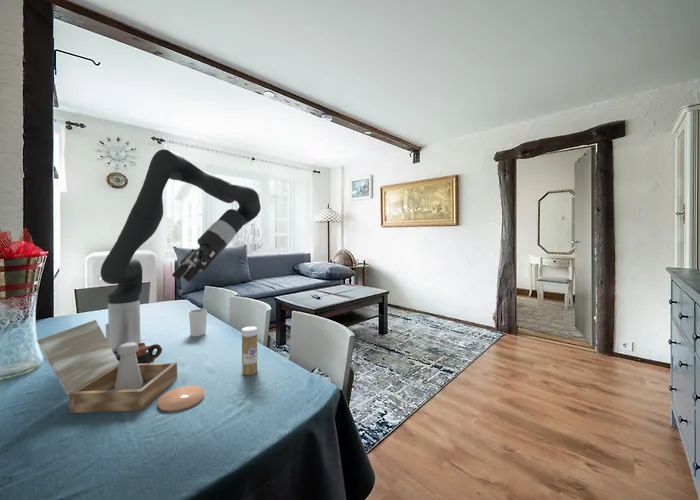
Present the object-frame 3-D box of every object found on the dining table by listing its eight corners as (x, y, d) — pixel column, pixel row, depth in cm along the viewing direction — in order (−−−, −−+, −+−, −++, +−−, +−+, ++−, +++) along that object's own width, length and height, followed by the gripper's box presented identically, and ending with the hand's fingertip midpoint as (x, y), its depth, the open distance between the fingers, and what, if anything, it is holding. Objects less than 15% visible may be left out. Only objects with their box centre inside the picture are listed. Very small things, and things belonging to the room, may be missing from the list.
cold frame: (39, 414, 67) (36, 339, 67) (95, 380, 83) (92, 319, 83) (142, 410, 69) (140, 336, 68) (177, 377, 85) (175, 318, 84)
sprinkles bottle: (248, 377, 85) (247, 331, 85) (238, 373, 88) (238, 328, 87) (261, 371, 89) (260, 327, 89) (251, 367, 92) (251, 324, 91)
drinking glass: (210, 333, 125) (210, 310, 125) (195, 337, 120) (194, 313, 119) (201, 330, 129) (201, 308, 128) (186, 335, 123) (185, 311, 123)
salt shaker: (120, 402, 72) (119, 349, 72) (110, 395, 76) (109, 345, 75) (147, 391, 77) (145, 342, 77) (137, 385, 80) (135, 338, 80)
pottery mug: (118, 378, 86) (110, 352, 87) (124, 380, 93) (117, 355, 95) (165, 359, 92) (156, 334, 94) (167, 362, 100) (160, 339, 102)
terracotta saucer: (148, 412, 68) (148, 407, 68) (171, 390, 78) (171, 386, 78) (193, 410, 69) (193, 406, 69) (210, 388, 79) (210, 385, 79)
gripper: (198, 230, 96) (160, 269, 88) (218, 228, 86) (178, 271, 78) (216, 245, 100) (181, 284, 92) (237, 245, 91) (200, 288, 83)
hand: (180, 278), depth 85 cm, fingers open, 8 cm apart
